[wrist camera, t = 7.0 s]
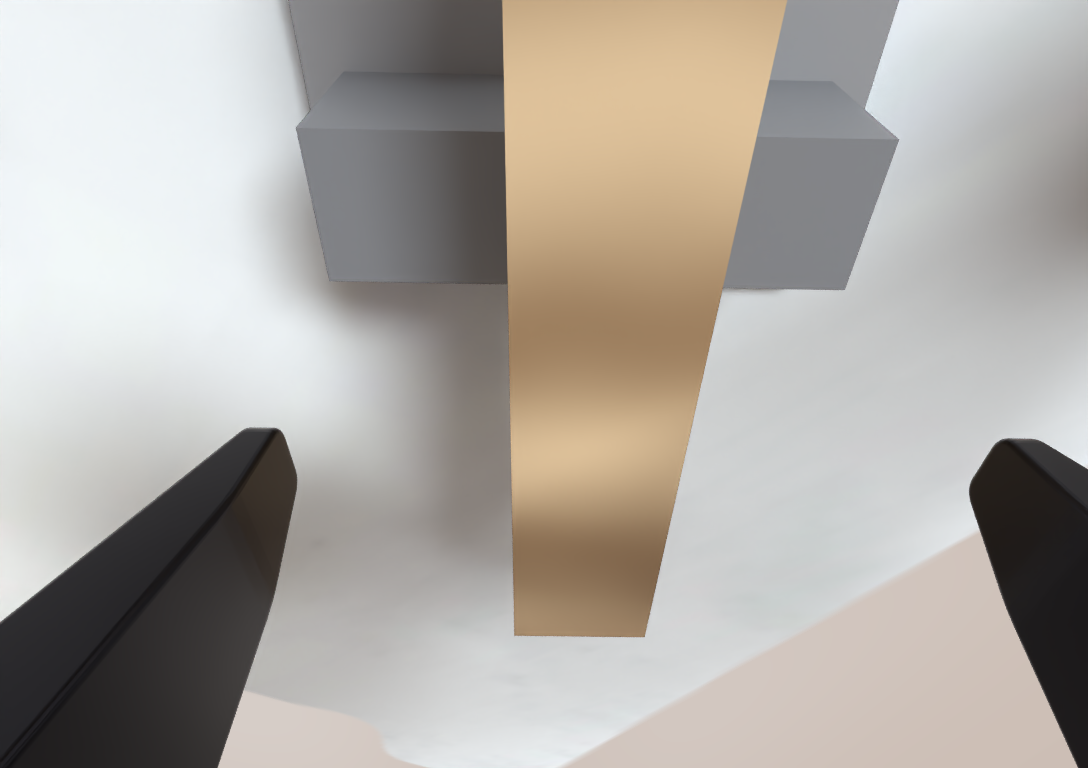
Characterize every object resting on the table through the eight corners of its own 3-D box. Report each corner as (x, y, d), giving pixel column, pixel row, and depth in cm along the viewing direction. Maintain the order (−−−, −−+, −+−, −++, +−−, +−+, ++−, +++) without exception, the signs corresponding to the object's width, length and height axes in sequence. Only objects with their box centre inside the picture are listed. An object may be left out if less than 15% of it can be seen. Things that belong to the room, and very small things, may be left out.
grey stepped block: (889, -32, 16) (1001, 14, 12) (798, 267, 21) (856, 366, 17) (293, -45, 15) (210, -4, 12) (351, 259, 21) (306, 357, 17)
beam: (510, -539, 8) (487, -769, 5) (799, -531, 8) (956, -754, 5) (519, 516, 21) (514, 635, 18) (630, 518, 21) (644, 637, 18)
